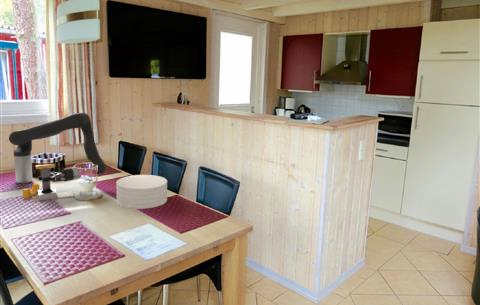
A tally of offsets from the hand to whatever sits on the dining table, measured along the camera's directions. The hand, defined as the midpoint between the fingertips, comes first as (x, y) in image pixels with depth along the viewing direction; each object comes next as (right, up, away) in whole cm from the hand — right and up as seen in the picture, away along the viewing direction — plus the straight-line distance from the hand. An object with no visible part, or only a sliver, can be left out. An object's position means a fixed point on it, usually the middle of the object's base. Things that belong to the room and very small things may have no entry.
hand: (40, 179), depth 198 cm
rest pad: (+9, -10, +9) cm, 16 cm away
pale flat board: (+4, -12, +6) cm, 14 cm away
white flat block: (+1, -10, +4) cm, 11 cm away
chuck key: (+1, -9, +4) cm, 10 cm away
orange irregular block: (-10, -11, +8) cm, 17 cm away
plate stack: (+52, -13, +12) cm, 55 cm away
